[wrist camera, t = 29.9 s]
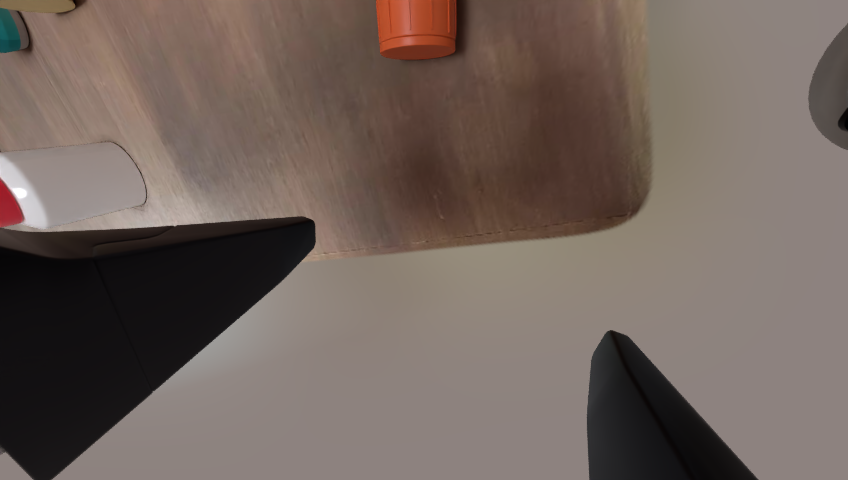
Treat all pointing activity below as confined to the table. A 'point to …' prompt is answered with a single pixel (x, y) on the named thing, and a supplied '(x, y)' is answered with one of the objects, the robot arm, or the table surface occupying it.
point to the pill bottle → (67, 184)
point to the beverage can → (12, 31)
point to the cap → (416, 28)
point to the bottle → (38, 5)
